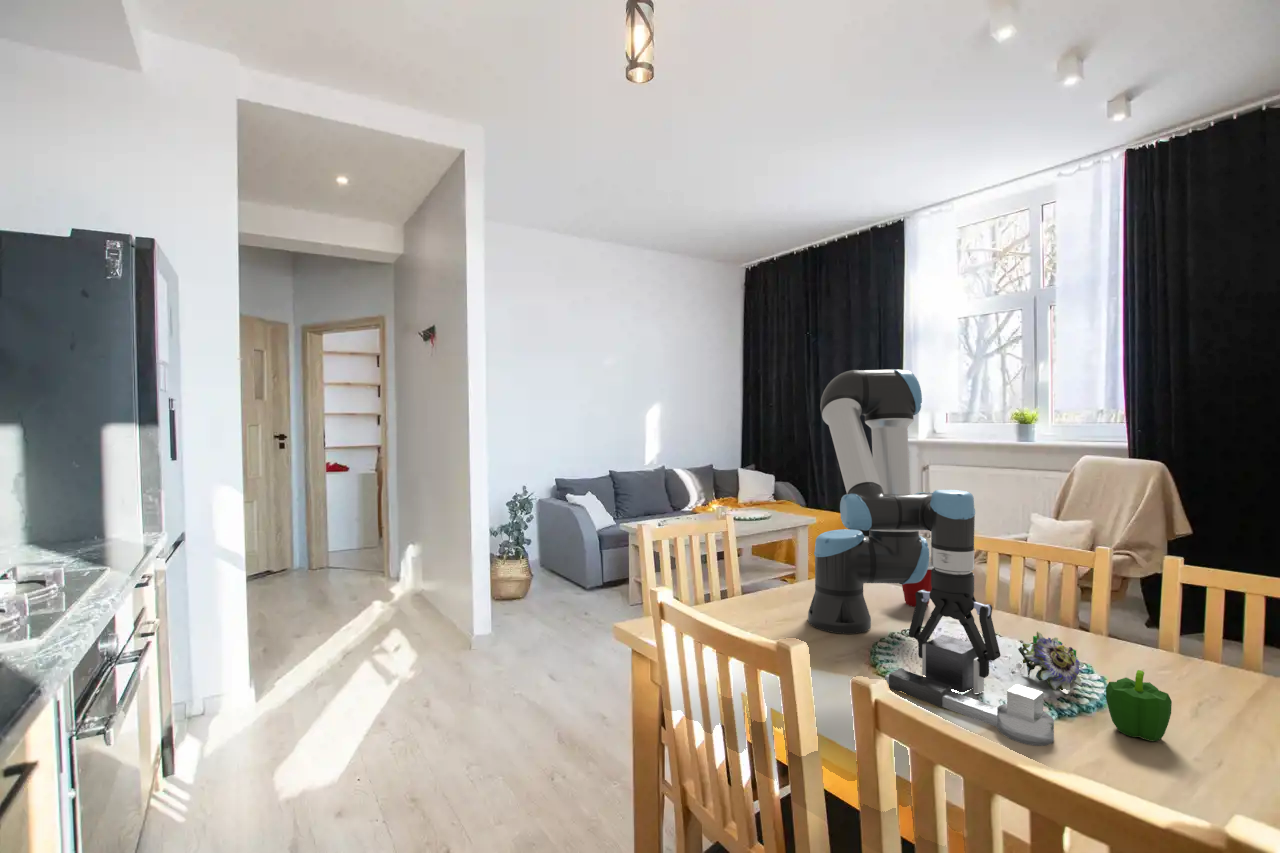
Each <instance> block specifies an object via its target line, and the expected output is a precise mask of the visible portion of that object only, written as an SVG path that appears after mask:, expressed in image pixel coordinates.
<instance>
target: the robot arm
mask: <svg viewBox="0 0 1280 853" xmlns="http://www.w3.org/2000/svg"><path fill="white" fill-rule="evenodd" d="M922 402H923V395H922V390H921V385H920V382H919V380H918V377H917V376H916V375H915V374H914V373H913V372H911V371H910V370H906V369H894V368H891V369H865V370H864V369H863V370H862V369H861V370H859V369H851V370H847V371H844V372H842V373H840V374H838V375H837V376H835V377H834V378H833V379H831V380H830V382H828V384H827V385H826V387H825V389H824V390H823V393H822V395H821V397H820V405H819V406H820V415H821V417H822V420H823V422H824V423H825V425H828V427H829V432H830V435H831V438H832V439H831V440H832V443H833V446H834V450H835V454H836V458H837V461H838V464H839V466H838V467H839V469H840V472H841V476H842V481H843V484H844V487H845V491H846V494H843V495H842V497H841V498H840V499H841V500H840V503H839V511H840V519H841V522H842V524H843V525H842V526H844V527H845V528H846V529H845V528H844V529H834V530H827V531H825V532H822V533H820V534H819V535H817V537H816V538H815V545H814V553H813V555H814V594H813V598H812V600H811V603H810V606H809V609H808V611H807V620H808V621H807V622H808V624H809V625H810V626H812V627H814V628H816V629H818V630H820V631H821V630H822V631H824V632H830V633H836V634H844V635H845V634H847V635H852V634H861V633H864V632H866V631H869V630H870V629H871V627H872V618H871V614H870V612H869V608H868V606H867V602H866V599H865V596H864V584H899V585H902V584H906V583H917V582H920V581H921V580H922V579H923V578H924V576H925V575H926V572H927V570H928V565H929V562H931V565H932V566H933V567H934V568H933V569H932V570H931V586H932V590H931V592H927V591H926V590H920V591H918V592H916V593H915V596H916V606H915V607H914V611H913V615H912V619H911V621H910V627H909V630H908V636H909V637H910V638H913V639H915V640H916V641H917V648H918V649H917V654H918V658H919V659H922V660H921V661H922V662H921V663H922V664H921V666H922V668H921V670H922V671H921V672H922V673H921V674H922V675H925V676H926V643H927V642H929V641H930V639H931V636H932V635H933V632H934V631H935V629H936V628H937V626H938V624H939V623H940V621H941V619H942V618H943V617H946V618H948V617H949V618H952V619H954V620H957V621H958V622H959V624H960V625H961V626H962V627H963V629H964V631H965V633H966V635H967V638H968V640H969V642H971V644H972V646H973V648H974V650H975V653H976V655H977V658H976V659H974V689H973V694H974V693H980V692H982V691H983V692H985V678H987V677H989V675H990V661H991V662H992V661H993V662H994V661H995V660H997V659H999V658H1000V657H1001V652H1000V651H1001V650H1000V647H999V642H998V639H997V635H996V631H995V627H994V623H993V622H994V621H993V618H992V614H993V606H992V604H990V603H986V604H984V603H981V602H977V600H976V598H975V573H973V571H974V570H975V522H976V521H975V516H976V508H975V499H974V496H973V494H972V493H971V492H970V491H966V490H960V489H935V490H934V491H933V492H930V491H929V492H926V491H925V492H924V491H921V492H916V493H913V494H912V493H911V479H910V478H911V477H910V476H911V475H910V456H909V453H910V452H909V433H908V432H909V431H908V428H909V427H910V425H911V424H912V423H913V422H914V416H915V415H918V414H919V413H920V411H921V409H922ZM861 416H864V423H865V425H867V426H868V427H869V428H870V430H871V446H872V448H871V449H870V445H869V442H868V439H867V436H866V432H865V430H864V425H863V423H862V420H861ZM871 450H872V452H871ZM863 531H868V532H869V535H864V533H863ZM919 531H929V532H930V534H931V535H930V536H931V537H930V538H931V540H930V541H931V542H930V545H931V547H930V548H929V544H928V541H927V539H926V538H925V537H923V536H921V535H920V532H919ZM930 549H931V551H930ZM930 554H931V555H930ZM930 557H931V558H930ZM930 559H931V560H930ZM928 601H929V602H930V601H931V602H932V603H933V605H934V608H933V609H932V611H931V613H930V617H929V618H928V620H927V621H926V623H925V625H924V626H923V623H924V619H925V615H926V611H927V607H928V606H927V604H928ZM928 605H929V604H928ZM973 610H975V611H976V614H977V615H978V619H979V620H978V621H979V624H980V629H981V632H982V634H981V632H980V631H979V629H978V626H977V624H976V623H975V617H974V615H973V614H972V611H973ZM922 626H923V627H922ZM922 675H921V676H922ZM983 692H982V693H983ZM980 694H981V693H980Z"/></svg>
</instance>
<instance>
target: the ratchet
mask: <svg viewBox="0 0 1280 853" xmlns="http://www.w3.org/2000/svg"><path fill="white" fill-rule="evenodd" d="M884 679H885V680H887V682H888V684H889V687H890V688H889V687H888V688H889V689H890V690H893V691H895V690H896V692H898V691H902V692H904V693H906V694H907V695H906V694H905V695H906V696H909V695H910V696H909V697H911V696H912V698H915V699H916V700H917V699H918V700H920V701H922V702H925V703H928V704H930V705H934V706H936V707H938V708H944V709H947V710H950V711H952V712H955V713H958V714H961V715H964V716H966V717H968V718H971V719H974V720H977V721H980V722H982V723H985V724H988V725H991V726H993V727H996V728H997V730H998V731H999V733H1000V734H1002V735H1003V736H1005V738H1008V739H1010V740H1012V741H1015V742H1017V743H1020V744H1023V745H1029V746H1037V747H1043V746H1049V745H1052V744H1053V743H1054V741H1055V726H1054V725H1055V720H1054V718H1053V716H1051V715H1050V714H1049V713H1047V712H1045V711H1044V692H1043V691H1041V690H1037V689H1035V688H1031V687H1027V686H1025V685H1021V684H1019V683H1016V684H1014V685H1013V686H1012V687H1010V688H1009V689H1008V690H1007V691H1006V703H1003V704H1001V705H999V706H995V705H992V704H989V703H986V702H984V701H981V700H978V699H975V698H972V697H970V696H966V695H961V694H958V693H955V692H952V691H951V686H950V685H947V684H944V683H941V682H938V681H935V680H932V679H929V678H926V677H923V676H922V675H919V674H918V673H914V672H911V671H909V670H905V669H902V668H898V669H896V670H894V671H892V672H890V673H888V674H886V675H885V676H884ZM885 680H884V681H885Z"/></svg>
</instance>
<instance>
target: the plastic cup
mask: <svg viewBox="0 0 1280 853" xmlns="http://www.w3.org/2000/svg"><path fill="white" fill-rule="evenodd" d="M933 568H934V567H933V566H932V565H931V561H929V565H928V570H927V572H926V575H925V576H924V578H923V579H922V580H921V581H920V582H917V583H906V584H901V586H902V587H901V588H902V592H903V596H904V601H905V604H906V605H907V606H909V607H912V608H915V606H916V596H915V593H916V592H918V591H920V590H926V591H927V592H931V590H932V586H931V570H932V569H933ZM929 604H930V600H929V601H928V604H927V607H928V606H929Z"/></svg>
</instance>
